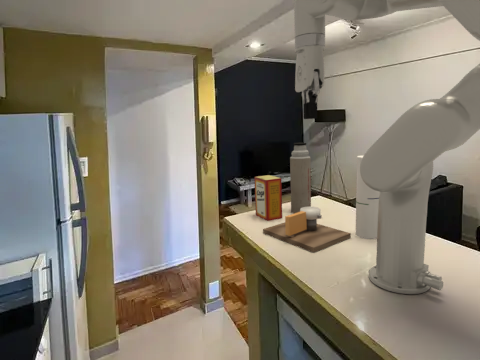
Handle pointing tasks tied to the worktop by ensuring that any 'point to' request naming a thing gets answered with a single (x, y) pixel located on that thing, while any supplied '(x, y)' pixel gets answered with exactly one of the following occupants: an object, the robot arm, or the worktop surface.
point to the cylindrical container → (366, 207)
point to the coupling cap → (300, 219)
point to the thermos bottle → (300, 177)
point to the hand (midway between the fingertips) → (310, 118)
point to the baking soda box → (268, 197)
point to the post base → (309, 236)
